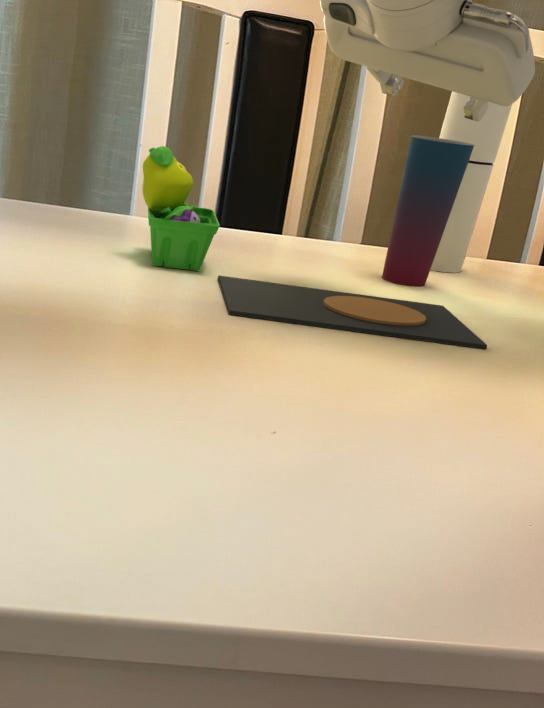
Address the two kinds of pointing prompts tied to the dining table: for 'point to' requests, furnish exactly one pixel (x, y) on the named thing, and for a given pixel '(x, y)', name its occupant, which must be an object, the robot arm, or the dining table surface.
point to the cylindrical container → (468, 176)
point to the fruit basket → (175, 214)
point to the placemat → (345, 311)
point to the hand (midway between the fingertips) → (434, 101)
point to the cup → (424, 206)
